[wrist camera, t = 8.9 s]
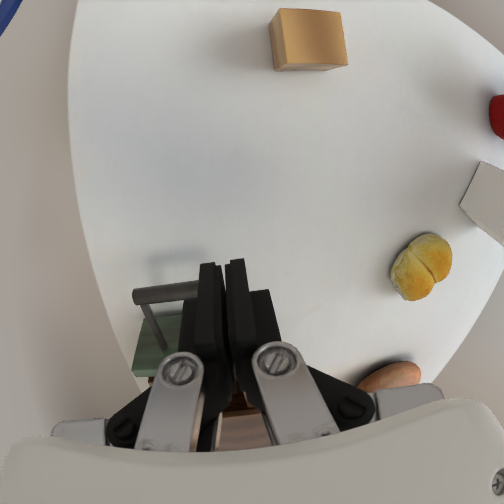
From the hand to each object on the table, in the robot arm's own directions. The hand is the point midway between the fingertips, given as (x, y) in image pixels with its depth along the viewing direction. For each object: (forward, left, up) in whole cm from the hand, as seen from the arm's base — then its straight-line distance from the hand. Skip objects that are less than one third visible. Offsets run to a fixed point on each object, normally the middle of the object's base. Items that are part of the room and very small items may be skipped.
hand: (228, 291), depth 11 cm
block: (+4, +13, -14) cm, 20 cm away
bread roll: (+24, -6, -14) cm, 29 cm away
